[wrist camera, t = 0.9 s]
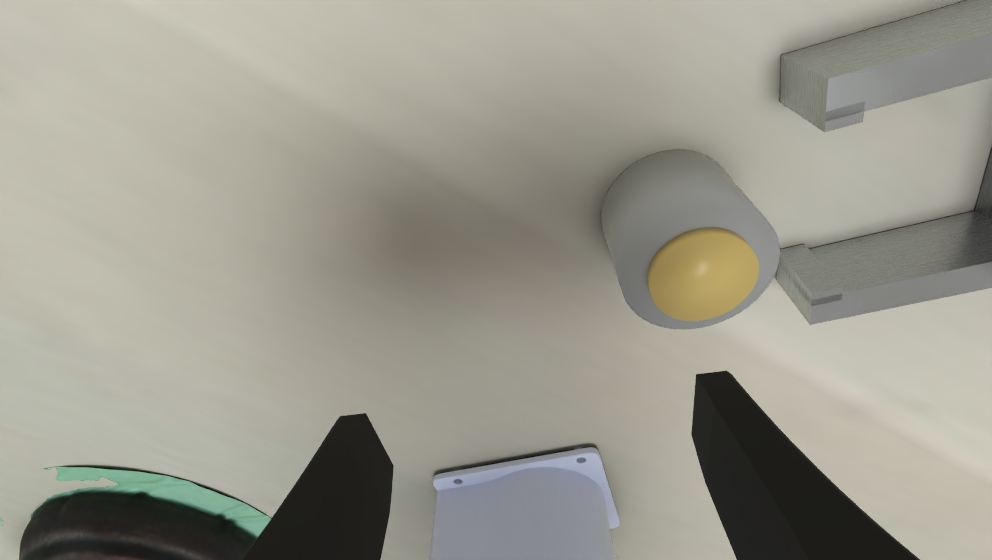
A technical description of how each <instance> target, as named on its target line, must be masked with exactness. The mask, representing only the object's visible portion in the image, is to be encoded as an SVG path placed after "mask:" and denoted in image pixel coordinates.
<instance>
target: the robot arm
mask: <svg viewBox="0 0 992 560" xmlns="http://www.w3.org/2000/svg"><path fill="white" fill-rule="evenodd" d="M692 438H693V441H694V445H695V448H696V452H697V456H698V459H699V463H700V466H701V469H702V473H703V476H704V479H705V482H706V485H707V487H708V490H709V492H710V495H711V497H712V500H713V502H714V505H715V507H716V510H717V512H718V515H719V517H720V520H721V522H722V524H723V527H724V529H725V532H726V534H727V537H728V539H729V541H730V544H731V546H732V549H733V551H734V553H735V556H736V558H737V560H920V559H918V558H917V557H916V556H915V555H914V554H912V553H911V552H910V551H909V550H908V549H906V548H905V547H904V546H903V545H902V544H900V543H899V542H898V541H897V540H896V539H895V538H893V537H892V536H891V535H890V534H889V533H887V532H886V531H885V530H884V529H883V528H882V527H881V526H879V525H878V524H877V523H876V522H875V521H874V520H873V519H872V518H870V517H869V516H868V515H867V514H866V513H865V512H864V511H863V510H861V509H860V508H859V507H858V506H857V505H856V504H855V503H854V502H853V501H852V500H851V499H850V498H848V497H847V496H846V495H845V494H844V493H843V492H842V491H841V490H840V489H839V488H838V487H837V486H836V485H835V484H833V483H832V482H831V481H830V480H829V479H828V478H827V477H826V476H825V475H824V474H823V473H822V472H821V471H820V470H819V469H818V468H817V467H816V466H815V465H814V464H813V463H812V462H811V461H810V460H809V459H808V458H807V457H806V456H805V455H804V454H803V453H802V452H801V451H800V450H799V449H798V448H797V447H796V446H795V445H794V444H793V443H792V442H791V441H790V440H789V438H788V437H787V436H786V435H785V434H784V433H783V432H782V431H781V430H780V429H779V428H778V427H777V426H776V425H775V424H774V422H773V421H772V420H771V419H770V418H769V417H768V416H767V415H766V414H765V413H764V411H763V410H762V409H761V408H760V407H759V406H758V405H757V404H756V402H755V401H754V400H753V399H752V398H751V397H750V396H749V394H748V393H747V392H746V391H745V390H744V389H743V387H742V386H741V385H740V384H739V383H738V382H737V380H736V379H735V378H734V377H733V375H732V374H730V373H729V372H727V371H722V372H713V373H704V374H696V384H695V397H694V410H693V423H692ZM392 479H393V464H392V462H391V460H390V458H389V456H388V454H387V453H386V451H385V449H384V447H383V445H382V443H381V441H380V439H379V437H378V435H377V434H376V432H375V430H374V428H373V426H372V424H371V422H370V420H369V418H368V416H367V415H366V413H364V414H356V415H347V416H340V417H339V419H338V420H337V421H336V423H335V424H334V426H333V427H332V429H331V430H330V432H329V433H328V435H327V436H326V438H325V440H324V441H323V443H322V444H321V446H320V447H319V449H318V450H317V452H316V453H315V455H314V457H313V458H312V460H311V461H310V463H309V464H308V466H307V467H306V469H305V470H304V472H303V473H302V475H301V476H300V478H299V479H298V481H297V482H296V484H295V485H294V487H293V488H292V490H291V491H290V493H289V494H288V495H287V497H286V498H285V500H284V501H283V503H282V504H281V506H280V507H279V509H278V510H277V512H276V513H275V514H274V516H273V517H272V519H271V520H270V521H269V523H268V524H267V525H266V527H265V528H264V529H263V531H262V532H261V534H260V535H259V536H258V538H257V539H256V540H255V542H254V543H253V544H252V546H251V547H250V548H249V550H248V551H247V552H246V554H245V555H244V556H243V558H242V559H241V560H380V558H381V554H382V549H383V544H384V539H385V533H386V528H387V523H388V518H389V513H390V503H391V493H392ZM432 484H433V486H434V487H435V489H436V491H437V496H436V505H435V514H434V523H433V532H432V541H431V550H430V560H615V554H614V548H613V543H612V537H611V532H610V529H614V528H617V527H618V526H619V525H620V520H619V516H618V513H617V510H616V506H615V503H614V500H613V496H612V493H611V490H610V487H609V483H608V480H607V477H606V474H605V470H604V467H603V464H602V460H601V457H600V454H599V451H598V450H597V449H595V448H592V447H588V448H582V449H576V450H571V451H565V452H559V453H554V454H548V455H542V456H537V457H531V458H525V459H520V460H514V461H508V462H503V463H497V464H491V465H486V466H480V467H474V468H469V469H463V470H458V471H452V472H446V473H441V474H437V475H435V476H434V477H433V483H432Z"/></svg>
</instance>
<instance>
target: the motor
mask: <svg viewBox="0 0 992 560" xmlns="http://www.w3.org/2000/svg"><path fill="white" fill-rule="evenodd" d="M990 77H992V0H966V1H963V2H960V3H956V4H953V5H949V6H946V7H943V8H939V9H936V10H933V11H929V12H926V13H922V14H919V15H916V16H912V17H909V18H905V19H902V20H899V21H895V22H892V23H889V24H885V25H882V26H878V27H875V28H872V29H868V30H865V31H861V32H858V33H855V34H851V35H848V36H845V37H841V38H838V39H834V40H831V41H828V42H824V43H821V44H817V45H814V46H811V47H807V48H804V49H801V50H797V51H794V52H790V53H787V54H784V55H781V81H780V102H781V103H782V104H783V105H785V106H786V107H788V108H789V109H791V110H792V111H794V112H795V113H797V114H798V115H800V116H801V117H803V118H804V119H806V120H807V121H809V122H810V123H812V124H813V125H815V126H816V127H818V128H819V129H821V130H822V131H824V132H827V131H830V130H834V129H838V128H842V127H845V126H849V125H853V124H857V123H860V122H863V116H864V111H868V110H872V109H875V108H879V107H883V106H886V105H890V104H894V103H898V102H901V101H905V100H909V99H912V98H916V97H920V96H924V95H927V94H931V93H935V92H938V91H942V90H946V89H950V88H953V87H957V86H961V85H964V84H968V83H972V82H976V81H979V80H983V79H987V78H990ZM776 280H777V282H778V283H779V284H780V286H781V287H782V288H783V290H784V291H785V292H786V294H787V295H788V296H789V298H790V299H791V300H792V302H793V303H794V304H795V306H796V307H797V308H798V310H799V311H800V312H801V314H802V315H803V316H804V317H805V319H806V320H807V321H808V323H809V324H810V325H811V324H816V323H821V322H826V321H831V320H836V319H841V318H845V317H850V316H855V315H860V314H865V313H870V312H875V311H880V310H885V309H890V308H894V307H899V306H904V305H909V304H914V303H919V302H924V301H929V300H934V299H939V298H943V297H948V296H953V295H958V294H963V293H968V292H973V291H978V290H983V289H988V288H992V151H991V154H990V158H989V161H988V165H987V169H986V172H985V176H984V179H983V183H982V187H981V190H980V194H979V197H978V201H977V205H976V208H975V211H973V212H968V213H964V214H959V215H955V216H951V217H946V218H942V219H938V220H933V221H929V222H925V223H920V224H916V225H911V226H907V227H903V228H898V229H894V230H890V231H885V232H881V233H877V234H872V235H868V236H863V237H859V238H855V239H850V240H846V241H842V242H837V243H833V244H829V245H824V246H820V247H815V248H811V249H808V248H807V247H806V246H805V245H804V244H802V245H797V246H793V247H789V248H785V249H780V256H779V263H778V267H777V270H776Z"/></svg>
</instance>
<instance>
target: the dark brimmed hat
mask: <svg viewBox="0 0 992 560" xmlns="http://www.w3.org/2000/svg"><path fill="white" fill-rule="evenodd" d="M51 468H52V467H51ZM51 468H47V469H45V470H49V469H51ZM54 468H56V469H57V470H58V475H57V478H56V479H57V480H60V481H69V480H70V481H72V480H76V481H77V480H78V481H84V480H94V481H98V480H99V478H100V477H104V478H106V479H109V480H112V481H114V482H116V483H118V484H119V485H116V486H107V487H98V488H97V487H91V488H85V489H77V490H75V491H70V492H66V493H61V494H57V495H54V496H52V497H50V498H49V499H47V501H46V502H44V503H43V505H42V506H40V507H39V508H37V509H36V510H35V511H34V512H33V514H32V515H31V521H30V522H29V524H28V526H27V527H26V529H25V531H24V534H23V536H22V540H21V544H20V554H19V560H241V559H242V558H243V556H244V555H245V554H246V552H247V551H248V550H249V548H250V547H251V546H252V544H253V543H254V542H255V540H256V539H257V538H258V536H259V535H260V534H261V532H262V531H263V529H264V528H265V527H266V525H267V524H268V523H269V521H270V520H271V518H270V517H269V516H267V515H264V514H263V513H261V512H259V511H257V510H255V509H254V508H252V507H250V506H249V505H247V504H245V503H243V502H240V501H237V500H235V499H232V498H229V497H226V496H223V495H221V494H218V493H216V492H214V491H211V490H208V489H205V488H202V487H200V486H198V485H196V484H194V483H192V482H189V481H186V480H181V479H177V478H173V477H170V476H165V475H157V474H150V473H144V472H137V471H124V470H108V469H99V468H88V467H54ZM0 522H3V520H2V519H1V518H0ZM0 526H3V525H1V524H0Z"/></svg>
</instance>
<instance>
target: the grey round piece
mask: <svg viewBox="0 0 992 560" xmlns="http://www.w3.org/2000/svg"><path fill="white" fill-rule="evenodd" d="M601 225H602V230H603V233H604V236H605V239H606V242H607V245H608V249H609V252H610V255H611V258H612V261H613V264H614V267H615V270H616V274H617V277H618V280H619V283H620V286H621V289H622V292H623V295H624V298H625V300H626V302H627V304H628V305H629V306H630V308H631V309H632V310H633V311H634V312H635V313H636V314H637V315H638V316H640V317H641V318H642V319H644V320H646V321H648V322H650V323H652V324H655V325H657V326H661V327H665V328H671V329H695V328H701V327H706V326H710V325H714V324H716V323H719V322H722V321H724V320H726V319H729V318H731V317H733V316H735V315H736V314H738V313H740V312H741V311H743V310H744V309H746V308H747V307H748V306H750V305H751V304H752V303H753V302H754V301H756V300H757V299H758V297H759V296H760V295H761V294H762V293H763V292H764V291H765V289H766V288H767V287H768V286H769V284H770V282H771V281H772V279H773V277H774V275H775V272H776V270H777V267H778V263H779V256H780V247H779V241H778V237H777V235H776V233H775V230H774V229H773V227H772V226H771V224H770V223H769V222H768V221H767V219H766V218H765V217H764V216H763V215H762V214H761V212H760V211H759V210H758V209H757V208H756V207H755V206H754V204H753V203H752V202H751V201H750V200H749V199H748V197H747V196H746V195H745V194H744V193H743V192H742V191H741V189H740V188H739V187H738V186H737V185H736V184H735V182H734V181H733V180H732V179H731V178H730V177H729V176H728V174H727V173H726V172H725V171H724V170H723V169H722V167H721V166H720V165H719V164H718V163H717V162H715V161H714V160H713V159H711V158H710V157H708V156H706V155H704V154H701V153H698V152H695V151H690V150H667V151H662V152H657V153H655V154H652V155H649V156H647V157H644V158H642V159H640V160H639V161H637V162H635V163H634V164H632V165H631V166H629V167H628V168H627V169H626V170H624V171H623V172H622V173H621V174H620V175H619V176H618V177H617V179H616V180H615V181H614V182H613V184H612V185H611V187H610V188H609V190H608V192H607V194H606V196H605V198H604V202H603V205H602V210H601Z"/></svg>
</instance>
